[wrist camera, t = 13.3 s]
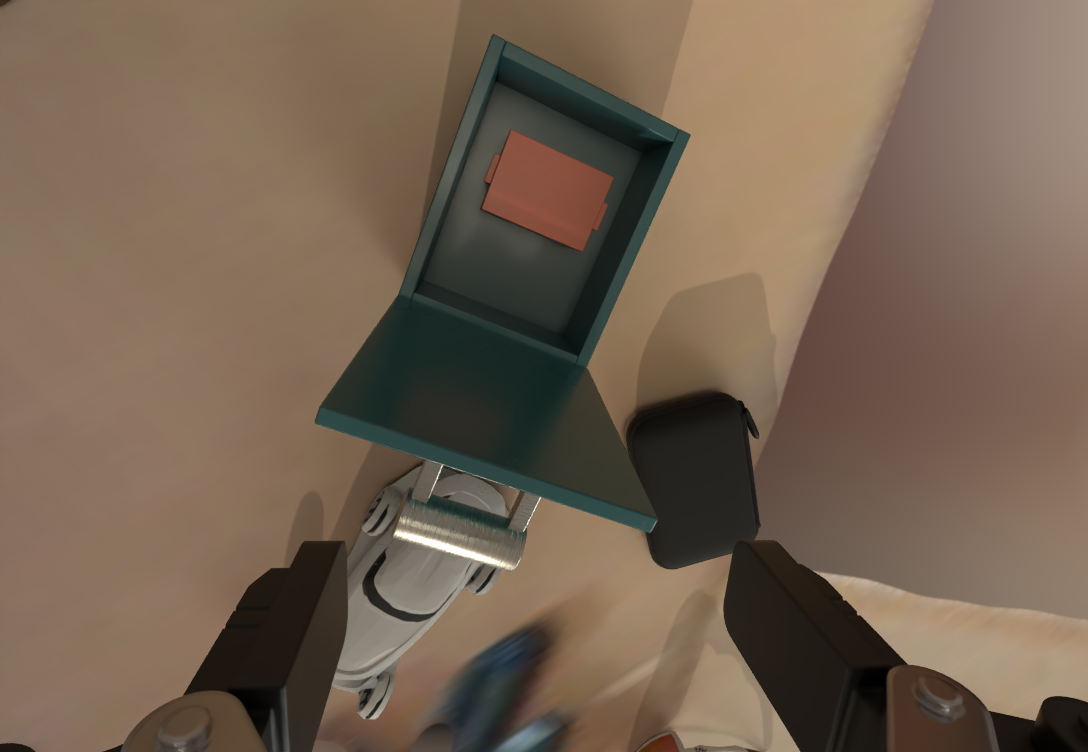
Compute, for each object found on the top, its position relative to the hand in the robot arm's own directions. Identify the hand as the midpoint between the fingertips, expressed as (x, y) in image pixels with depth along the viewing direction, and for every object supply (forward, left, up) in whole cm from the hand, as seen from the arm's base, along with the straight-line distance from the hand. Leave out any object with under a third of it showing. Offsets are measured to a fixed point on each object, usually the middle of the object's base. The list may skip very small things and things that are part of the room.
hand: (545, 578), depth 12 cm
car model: (+1, -23, -32) cm, 40 cm away
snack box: (0, +9, -31) cm, 33 cm away
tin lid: (0, -1, -16) cm, 16 cm away
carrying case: (+21, -6, -32) cm, 39 cm away
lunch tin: (0, +8, -32) cm, 33 cm away
